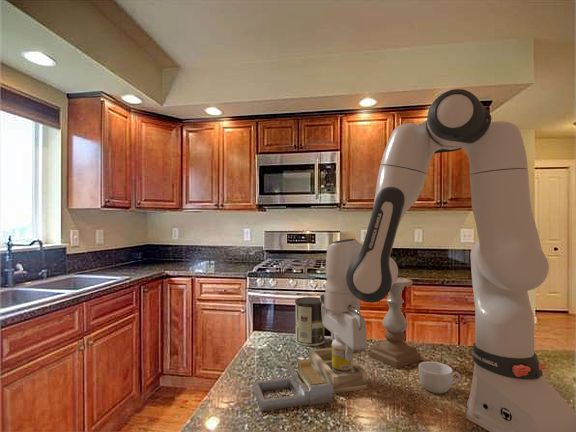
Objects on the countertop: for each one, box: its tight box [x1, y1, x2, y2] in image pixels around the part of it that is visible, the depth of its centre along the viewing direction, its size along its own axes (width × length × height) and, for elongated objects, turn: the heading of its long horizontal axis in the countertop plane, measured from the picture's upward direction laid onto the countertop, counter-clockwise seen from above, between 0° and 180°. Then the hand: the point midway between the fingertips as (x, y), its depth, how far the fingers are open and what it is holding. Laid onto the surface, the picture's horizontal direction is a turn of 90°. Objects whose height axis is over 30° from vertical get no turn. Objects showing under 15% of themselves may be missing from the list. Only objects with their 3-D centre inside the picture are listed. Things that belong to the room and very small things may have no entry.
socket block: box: [252, 363, 333, 412], centre depth 90 cm, size 20×17×4 cm
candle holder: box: [369, 276, 422, 369], centre depth 108 cm, size 11×11×24 cm
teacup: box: [418, 361, 462, 395], centre depth 88 cm, size 10×8×5 cm
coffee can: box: [294, 296, 326, 347], centre depth 122 cm, size 10×10×14 cm
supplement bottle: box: [331, 333, 354, 374], centre depth 92 cm, size 5×5×10 cm
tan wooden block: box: [297, 358, 325, 389], centre depth 89 cm, size 12×3×5 cm, turn 16°
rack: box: [308, 347, 368, 395], centre depth 96 cm, size 18×9×4 cm, turn 16°
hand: (342, 354), depth 92 cm, fingers closed on supplement bottle, 5 cm apart
